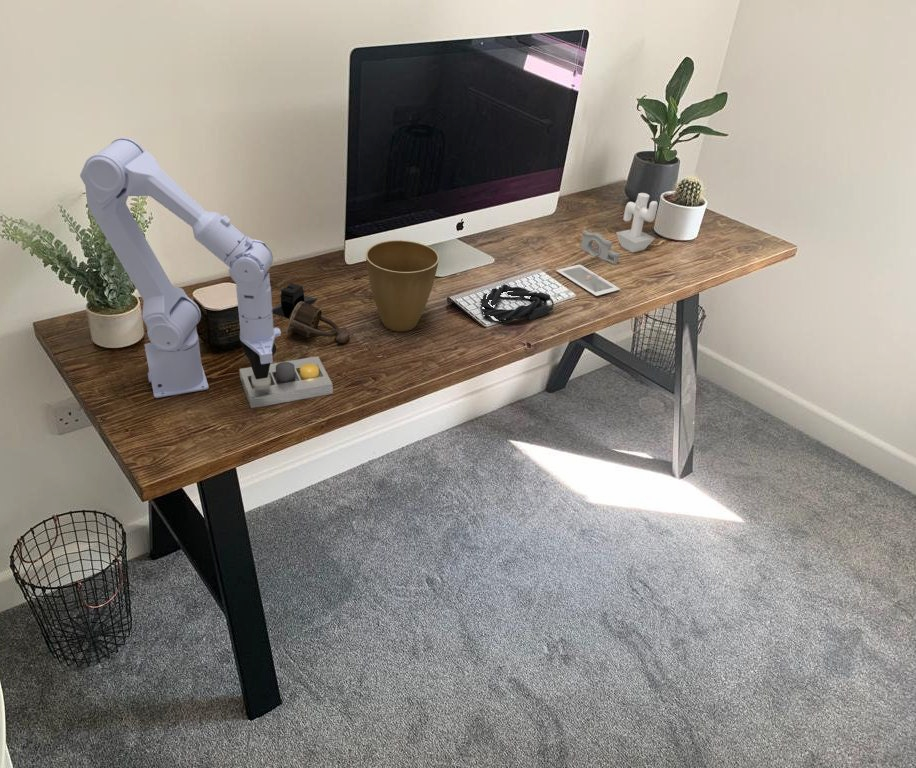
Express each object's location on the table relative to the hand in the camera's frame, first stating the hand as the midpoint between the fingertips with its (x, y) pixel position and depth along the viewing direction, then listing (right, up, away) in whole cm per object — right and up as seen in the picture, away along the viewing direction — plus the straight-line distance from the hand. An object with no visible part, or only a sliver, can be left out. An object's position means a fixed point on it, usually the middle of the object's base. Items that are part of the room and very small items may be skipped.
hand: (261, 376), depth 147 cm
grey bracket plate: (+72, +31, +62) cm, 100 cm away
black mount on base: (0, +15, +29) cm, 33 cm away
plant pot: (+24, +12, +26) cm, 37 cm away
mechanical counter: (+7, +8, +19) cm, 22 cm away
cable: (+48, +15, +35) cm, 61 cm away
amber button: (+8, -1, +5) cm, 9 cm away
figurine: (+83, +35, +67) cm, 112 cm away
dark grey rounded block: (+4, -1, +3) cm, 5 cm away
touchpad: (+67, +23, +49) cm, 86 cm away
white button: (0, -2, +2) cm, 3 cm away
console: (+4, -2, +3) cm, 5 cm away
